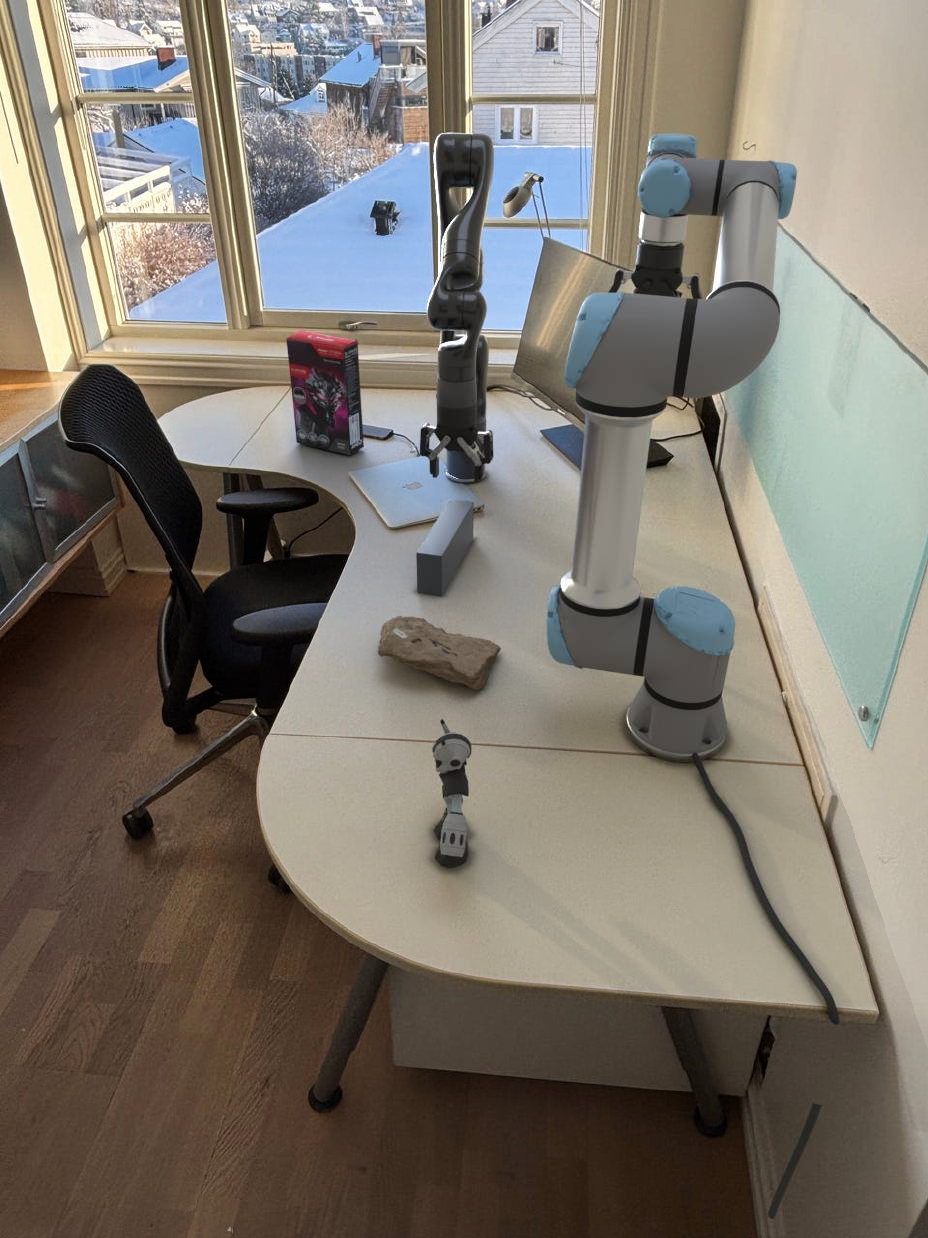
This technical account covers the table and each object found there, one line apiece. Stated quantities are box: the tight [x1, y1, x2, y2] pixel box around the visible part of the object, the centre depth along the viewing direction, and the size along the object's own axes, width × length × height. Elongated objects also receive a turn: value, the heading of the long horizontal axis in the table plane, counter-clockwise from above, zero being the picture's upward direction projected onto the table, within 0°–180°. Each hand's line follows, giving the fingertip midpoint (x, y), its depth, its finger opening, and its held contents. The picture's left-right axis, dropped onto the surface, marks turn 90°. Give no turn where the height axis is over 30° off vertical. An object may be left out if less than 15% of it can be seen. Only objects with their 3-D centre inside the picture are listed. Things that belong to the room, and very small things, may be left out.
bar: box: [415, 498, 475, 597], centre depth 182 cm, size 23×5×9 cm, turn 165°
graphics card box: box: [285, 330, 365, 456], centre depth 225 cm, size 17×7×27 cm, turn 62°
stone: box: [377, 615, 502, 691], centre depth 155 cm, size 21×15×6 cm
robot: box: [431, 718, 473, 868], centre depth 118 cm, size 20×5×20 cm, turn 3°
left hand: (456, 478), depth 182 cm, fingers open, 8 cm apart
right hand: (646, 369), depth 162 cm, fingers open, 13 cm apart
